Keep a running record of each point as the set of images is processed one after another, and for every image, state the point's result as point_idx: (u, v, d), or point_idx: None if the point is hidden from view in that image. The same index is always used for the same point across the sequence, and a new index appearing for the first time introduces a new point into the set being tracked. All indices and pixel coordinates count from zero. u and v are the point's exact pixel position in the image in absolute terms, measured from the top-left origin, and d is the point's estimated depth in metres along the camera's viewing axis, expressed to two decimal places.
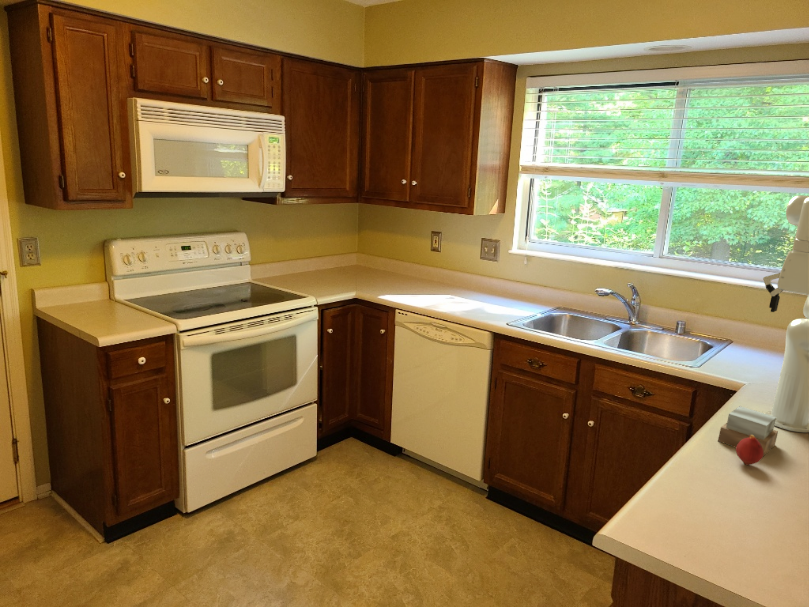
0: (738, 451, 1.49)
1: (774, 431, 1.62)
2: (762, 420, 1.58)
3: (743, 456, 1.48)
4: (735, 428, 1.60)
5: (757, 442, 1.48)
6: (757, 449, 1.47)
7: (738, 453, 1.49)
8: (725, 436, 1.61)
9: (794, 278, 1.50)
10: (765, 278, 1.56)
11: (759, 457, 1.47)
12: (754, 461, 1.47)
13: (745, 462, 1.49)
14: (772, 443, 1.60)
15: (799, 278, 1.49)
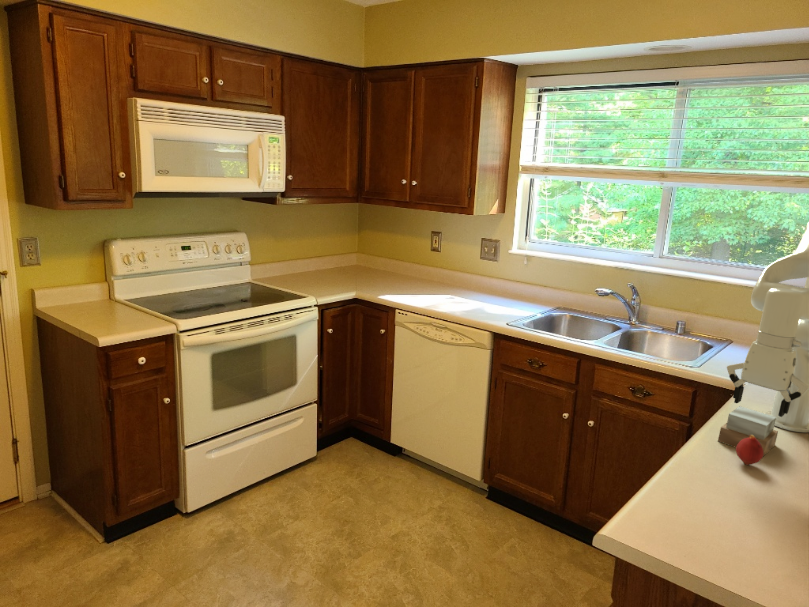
0: (738, 451, 1.49)
1: (774, 431, 1.62)
2: (762, 420, 1.58)
3: (743, 456, 1.48)
4: (735, 428, 1.60)
5: (757, 442, 1.48)
6: (757, 449, 1.47)
7: (738, 453, 1.49)
8: (725, 436, 1.61)
9: (757, 371, 1.44)
10: (729, 367, 1.50)
11: (759, 457, 1.47)
12: (754, 461, 1.47)
13: (745, 462, 1.49)
14: (772, 443, 1.60)
15: (762, 371, 1.43)
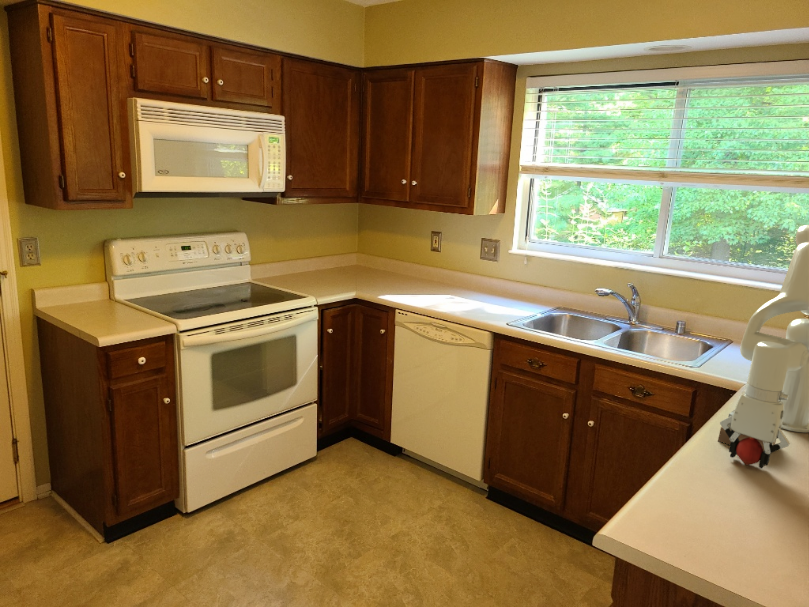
0: (738, 451, 1.49)
1: None
2: None
3: (743, 456, 1.48)
4: None
5: (757, 442, 1.48)
6: (757, 449, 1.47)
7: (738, 453, 1.49)
8: (725, 436, 1.61)
9: (746, 422, 1.47)
10: (722, 423, 1.53)
11: (759, 457, 1.47)
12: (754, 461, 1.47)
13: (745, 462, 1.49)
14: None
15: (751, 423, 1.46)
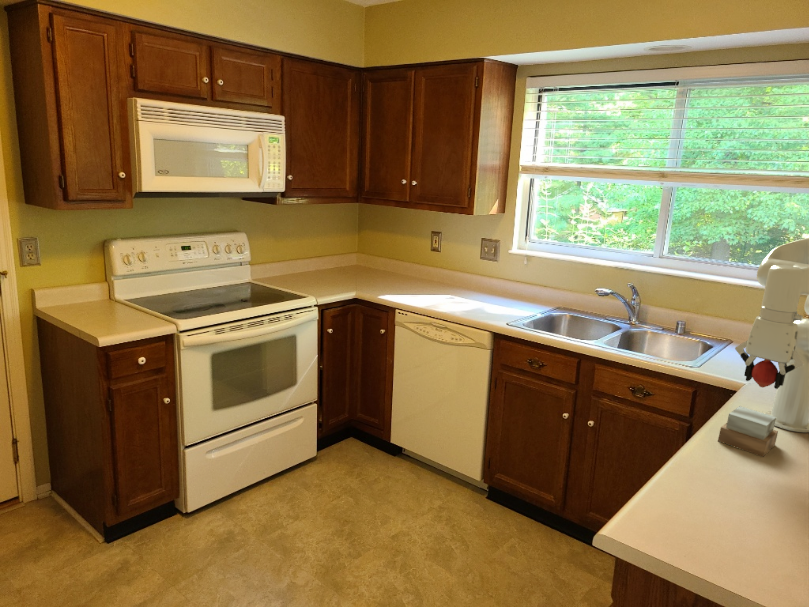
0: (754, 374, 1.53)
1: (774, 431, 1.62)
2: (762, 420, 1.58)
3: (759, 377, 1.52)
4: (735, 428, 1.60)
5: (772, 364, 1.52)
6: (772, 370, 1.51)
7: (754, 376, 1.54)
8: (725, 436, 1.61)
9: (761, 345, 1.51)
10: (737, 348, 1.57)
11: (774, 378, 1.51)
12: (769, 382, 1.52)
13: (760, 384, 1.53)
14: (772, 443, 1.60)
15: (766, 345, 1.50)
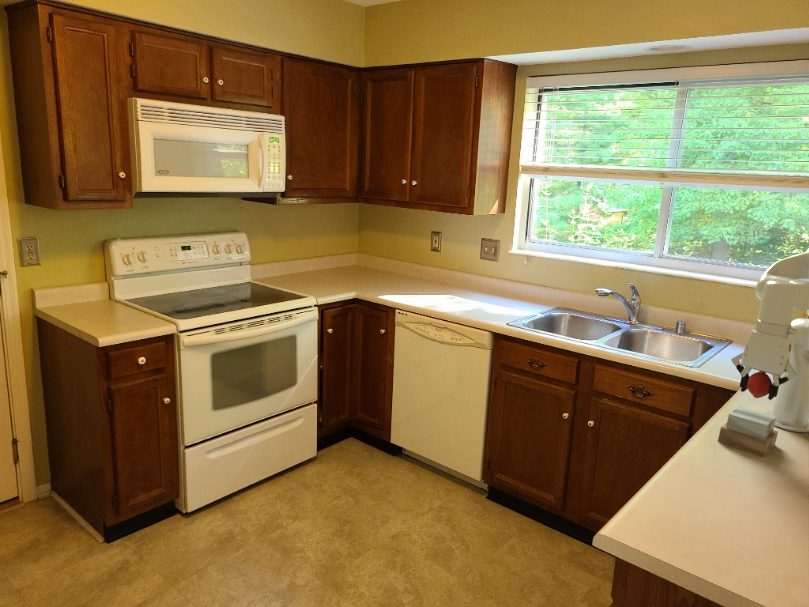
0: (748, 385, 1.59)
1: (774, 431, 1.62)
2: (762, 420, 1.58)
3: (754, 388, 1.57)
4: (735, 428, 1.60)
5: (766, 375, 1.57)
6: (766, 382, 1.56)
7: (748, 387, 1.59)
8: (725, 436, 1.61)
9: (756, 356, 1.56)
10: (733, 359, 1.62)
11: (768, 389, 1.56)
12: (764, 393, 1.57)
13: (755, 395, 1.58)
14: (772, 443, 1.60)
15: (761, 357, 1.56)
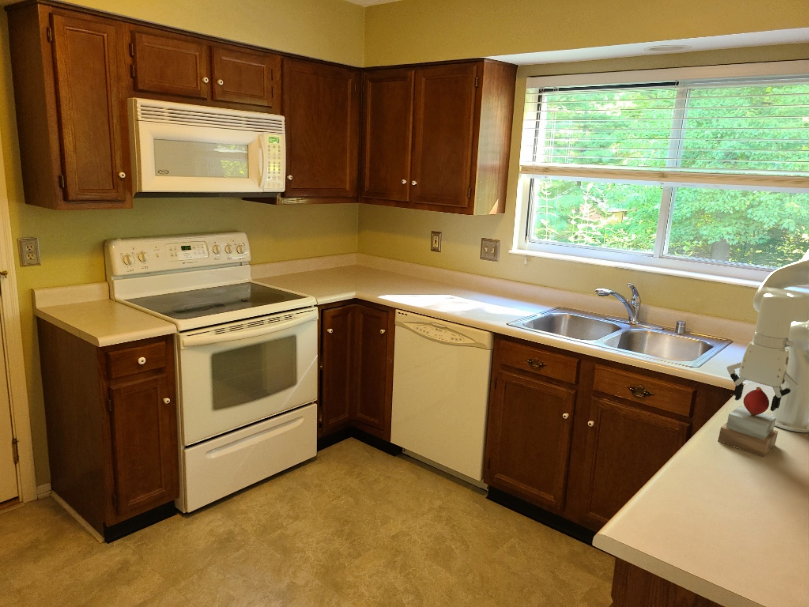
0: (745, 402, 1.60)
1: (774, 431, 1.62)
2: (762, 420, 1.58)
3: (750, 406, 1.59)
4: (735, 428, 1.60)
5: (763, 393, 1.58)
6: (763, 400, 1.57)
7: (745, 404, 1.60)
8: (725, 436, 1.61)
9: (754, 369, 1.57)
10: (728, 368, 1.63)
11: (765, 407, 1.58)
12: (760, 411, 1.58)
13: (752, 412, 1.60)
14: (772, 443, 1.60)
15: (758, 369, 1.57)
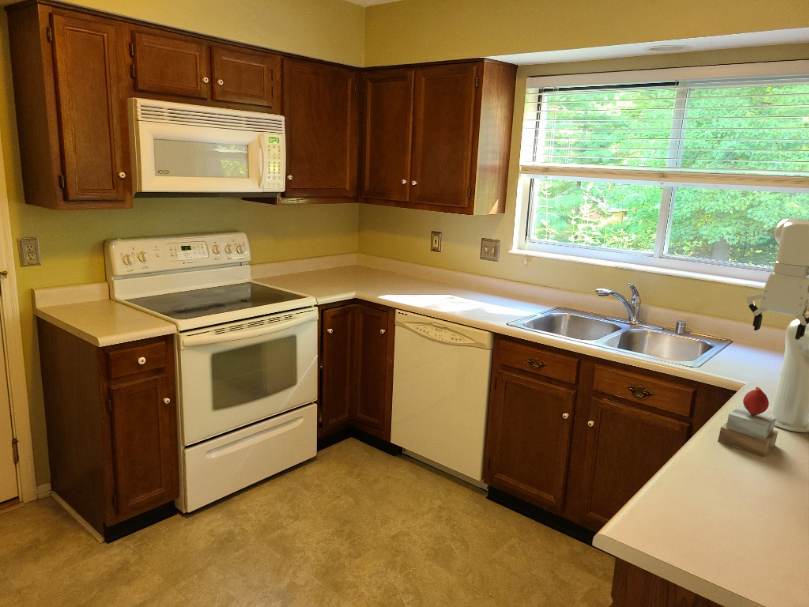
0: (745, 402, 1.60)
1: (774, 431, 1.62)
2: (762, 420, 1.58)
3: (750, 406, 1.59)
4: (735, 428, 1.60)
5: (763, 393, 1.58)
6: (762, 400, 1.57)
7: (745, 404, 1.60)
8: (725, 436, 1.61)
9: (775, 299, 1.57)
10: (748, 298, 1.63)
11: (765, 407, 1.58)
12: (760, 411, 1.58)
13: (752, 412, 1.60)
14: (772, 443, 1.60)
15: (780, 299, 1.56)
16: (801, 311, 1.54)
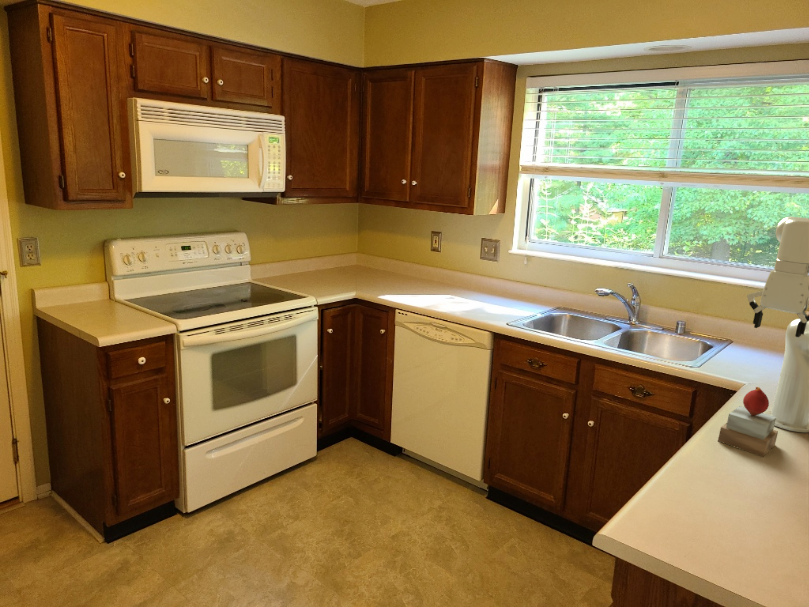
0: (745, 402, 1.60)
1: (774, 431, 1.62)
2: (762, 420, 1.58)
3: (750, 406, 1.59)
4: (735, 428, 1.60)
5: (763, 393, 1.58)
6: (763, 400, 1.57)
7: (745, 404, 1.60)
8: (725, 436, 1.61)
9: (776, 296, 1.57)
10: (749, 295, 1.63)
11: (765, 407, 1.58)
12: (760, 411, 1.58)
13: (752, 412, 1.60)
14: (772, 443, 1.60)
15: (780, 296, 1.57)
16: (801, 308, 1.54)
